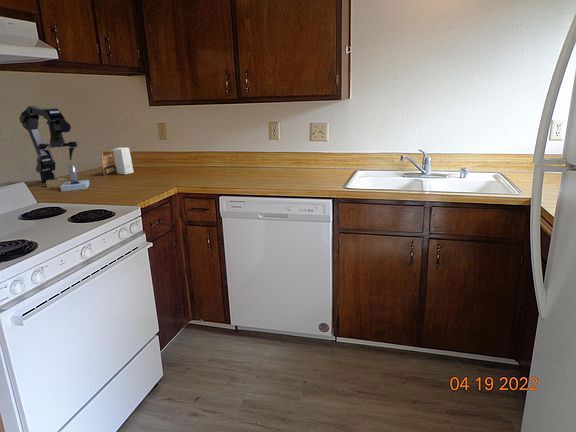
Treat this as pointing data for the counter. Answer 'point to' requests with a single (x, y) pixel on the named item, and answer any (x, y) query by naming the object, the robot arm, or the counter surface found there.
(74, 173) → the round bit
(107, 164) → the brown flat upright board
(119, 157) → the skincare box
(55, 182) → the square bit
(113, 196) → the counter surface
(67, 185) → the holder
